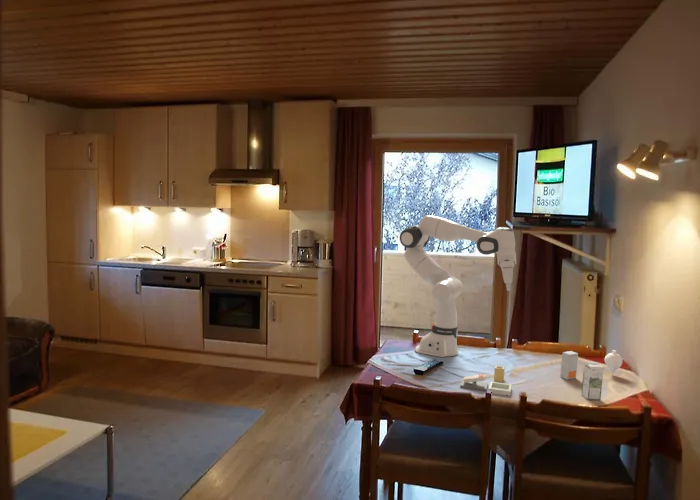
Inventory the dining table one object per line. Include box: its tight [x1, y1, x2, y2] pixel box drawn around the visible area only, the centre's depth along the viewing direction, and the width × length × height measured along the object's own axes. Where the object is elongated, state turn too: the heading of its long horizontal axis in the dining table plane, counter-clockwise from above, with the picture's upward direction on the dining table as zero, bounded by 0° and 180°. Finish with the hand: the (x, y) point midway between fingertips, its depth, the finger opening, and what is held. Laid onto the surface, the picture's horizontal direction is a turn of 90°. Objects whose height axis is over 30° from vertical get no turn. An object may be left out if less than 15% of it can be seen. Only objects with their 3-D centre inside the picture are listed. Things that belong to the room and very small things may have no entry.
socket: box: [487, 381, 513, 397], centre depth 235 cm, size 9×9×2 cm
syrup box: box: [581, 362, 605, 401], centre depth 230 cm, size 6×6×14 cm
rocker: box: [462, 373, 487, 383], centre depth 239 cm, size 9×4×2 cm, turn 70°
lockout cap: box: [493, 364, 505, 383], centre depth 248 cm, size 4×4×6 cm
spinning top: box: [604, 349, 624, 376], centre depth 260 cm, size 8×8×12 cm
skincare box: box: [559, 350, 579, 380], centre depth 254 cm, size 6×4×12 cm
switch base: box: [459, 379, 489, 392], centre depth 239 cm, size 11×8×2 cm
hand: (508, 288), depth 268 cm, fingers open, 8 cm apart
